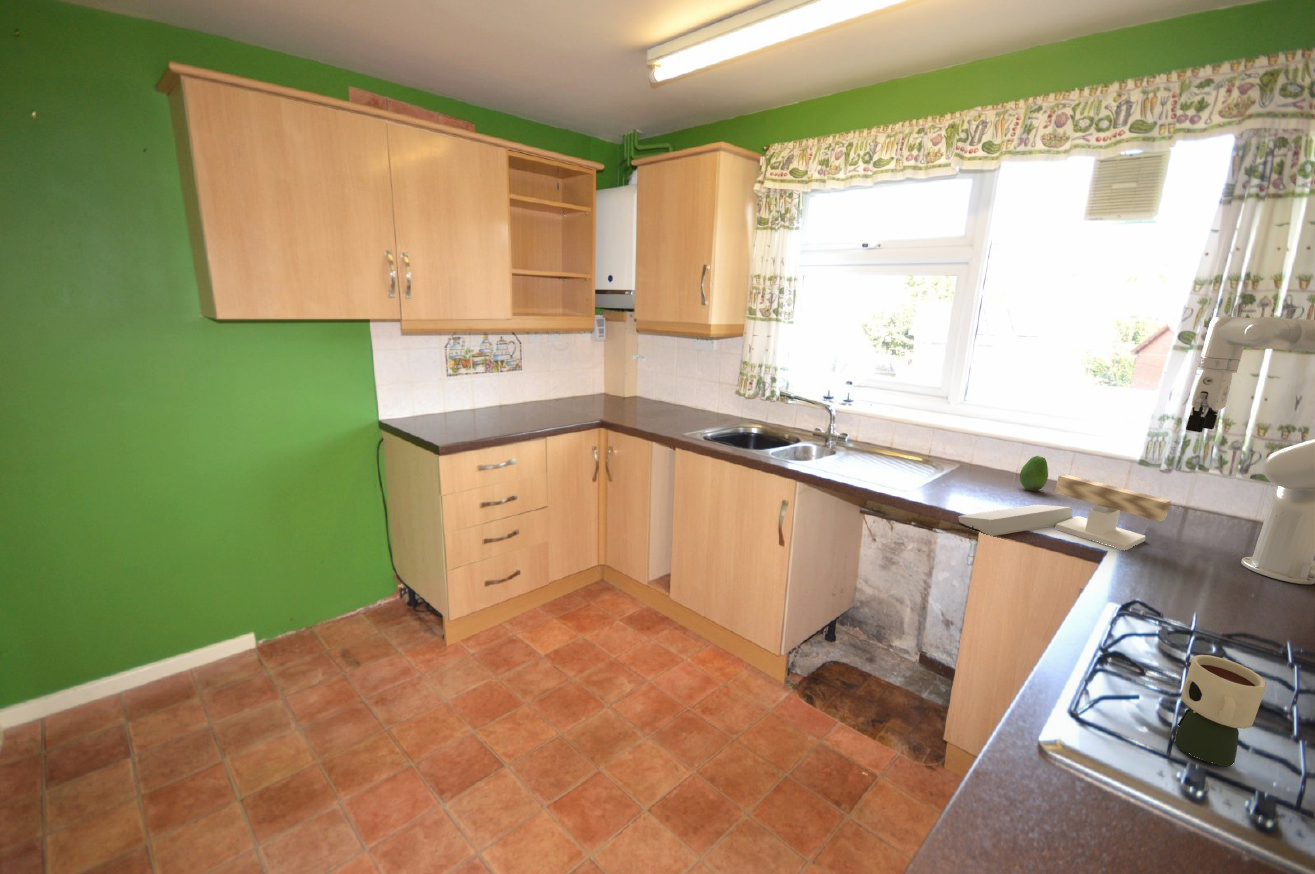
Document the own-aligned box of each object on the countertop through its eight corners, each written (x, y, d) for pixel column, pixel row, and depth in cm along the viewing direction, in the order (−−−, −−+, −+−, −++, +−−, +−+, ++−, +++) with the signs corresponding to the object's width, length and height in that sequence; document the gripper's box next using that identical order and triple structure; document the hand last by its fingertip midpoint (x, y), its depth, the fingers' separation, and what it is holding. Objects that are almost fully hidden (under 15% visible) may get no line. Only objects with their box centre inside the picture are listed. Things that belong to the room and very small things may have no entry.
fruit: (1011, 486, 197) (1018, 453, 194) (1028, 485, 200) (1036, 452, 197) (1032, 494, 190) (1040, 459, 187) (1050, 493, 192) (1058, 458, 189)
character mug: (1163, 719, 85) (1187, 641, 82) (1229, 742, 81) (1257, 662, 78) (1170, 763, 76) (1198, 678, 73) (1244, 792, 72) (1277, 704, 69)
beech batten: (1165, 519, 146) (1171, 500, 145) (1160, 521, 144) (1165, 502, 143) (1060, 490, 166) (1064, 474, 165) (1054, 492, 164) (1058, 475, 162)
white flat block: (959, 533, 161) (992, 537, 152) (958, 516, 161) (991, 519, 152) (1037, 520, 175) (1072, 523, 166) (1036, 504, 175) (1071, 507, 166)
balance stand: (1144, 541, 155) (1152, 510, 152) (1124, 551, 147) (1133, 519, 145) (1076, 520, 167) (1083, 492, 165) (1055, 528, 160) (1062, 499, 158)
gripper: (1228, 367, 141) (1208, 435, 145) (1247, 366, 150) (1227, 430, 154) (1188, 364, 147) (1170, 429, 151) (1209, 363, 156) (1191, 424, 160)
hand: (1199, 429), depth 152 cm, fingers open, 9 cm apart
